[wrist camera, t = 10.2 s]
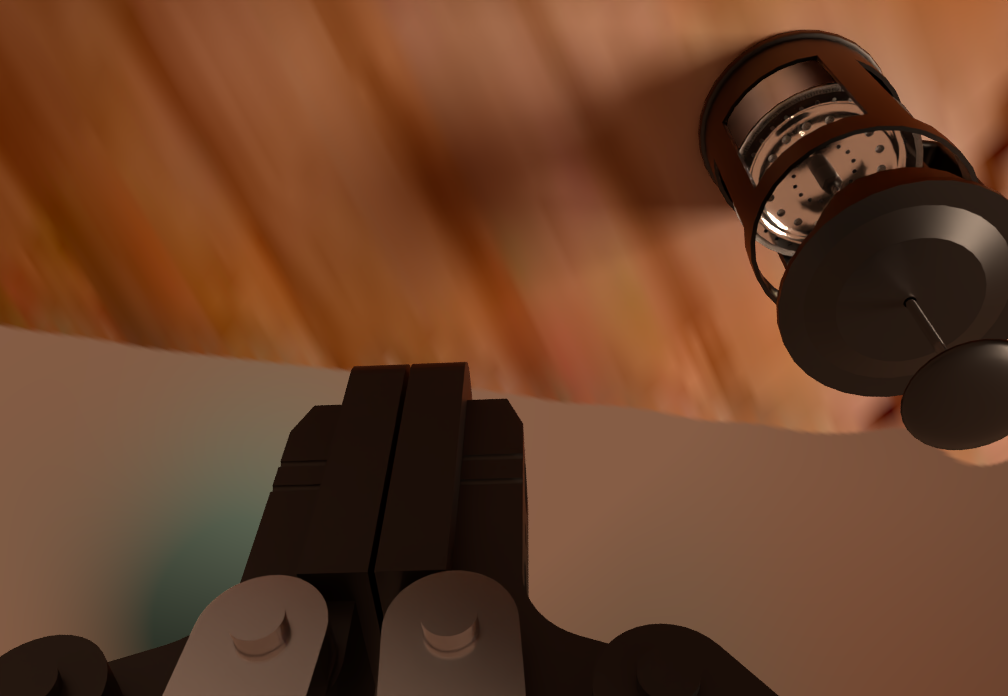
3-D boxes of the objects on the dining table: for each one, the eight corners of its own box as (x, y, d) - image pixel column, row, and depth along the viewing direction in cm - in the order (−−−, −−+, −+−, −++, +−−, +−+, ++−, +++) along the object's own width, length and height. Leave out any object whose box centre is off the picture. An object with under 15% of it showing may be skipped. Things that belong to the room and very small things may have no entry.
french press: (668, 198, 48) (761, 503, 29) (707, 18, 43) (850, 250, 24) (884, 218, 49) (1111, 532, 30) (948, 43, 43) (1275, 289, 25)
